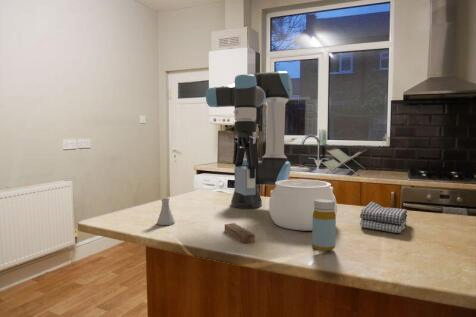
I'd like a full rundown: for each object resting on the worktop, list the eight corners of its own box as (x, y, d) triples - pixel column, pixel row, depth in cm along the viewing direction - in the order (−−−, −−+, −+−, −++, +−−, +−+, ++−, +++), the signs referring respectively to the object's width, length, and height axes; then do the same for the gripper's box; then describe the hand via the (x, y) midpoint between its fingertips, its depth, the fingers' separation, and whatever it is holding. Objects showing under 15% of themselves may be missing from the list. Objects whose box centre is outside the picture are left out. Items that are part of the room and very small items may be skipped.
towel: (358, 229, 126) (359, 208, 126) (367, 218, 142) (368, 200, 141) (403, 235, 118) (403, 213, 118) (407, 223, 134) (408, 204, 133)
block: (234, 229, 125) (234, 223, 124) (254, 242, 110) (254, 234, 110) (224, 230, 123) (224, 224, 123) (244, 243, 108) (244, 236, 108)
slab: (245, 191, 121) (245, 166, 121) (255, 194, 114) (255, 168, 113) (235, 191, 120) (235, 166, 119) (245, 195, 112) (245, 168, 112)
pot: (293, 237, 115) (293, 190, 114) (254, 220, 138) (254, 181, 137) (353, 227, 128) (354, 184, 127) (308, 212, 151) (309, 177, 150)
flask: (170, 226, 129) (170, 200, 129) (153, 225, 131) (152, 200, 130) (177, 221, 136) (177, 197, 136) (161, 220, 138) (160, 196, 137)
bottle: (309, 244, 108) (310, 198, 107) (330, 243, 109) (331, 198, 108) (316, 251, 101) (317, 202, 100) (338, 250, 102) (339, 202, 101)
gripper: (223, 121, 123) (223, 182, 124) (249, 119, 104) (249, 191, 106) (241, 122, 126) (241, 181, 128) (270, 119, 107) (269, 189, 109)
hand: (245, 186), depth 117 cm, fingers closed on slab, 8 cm apart
